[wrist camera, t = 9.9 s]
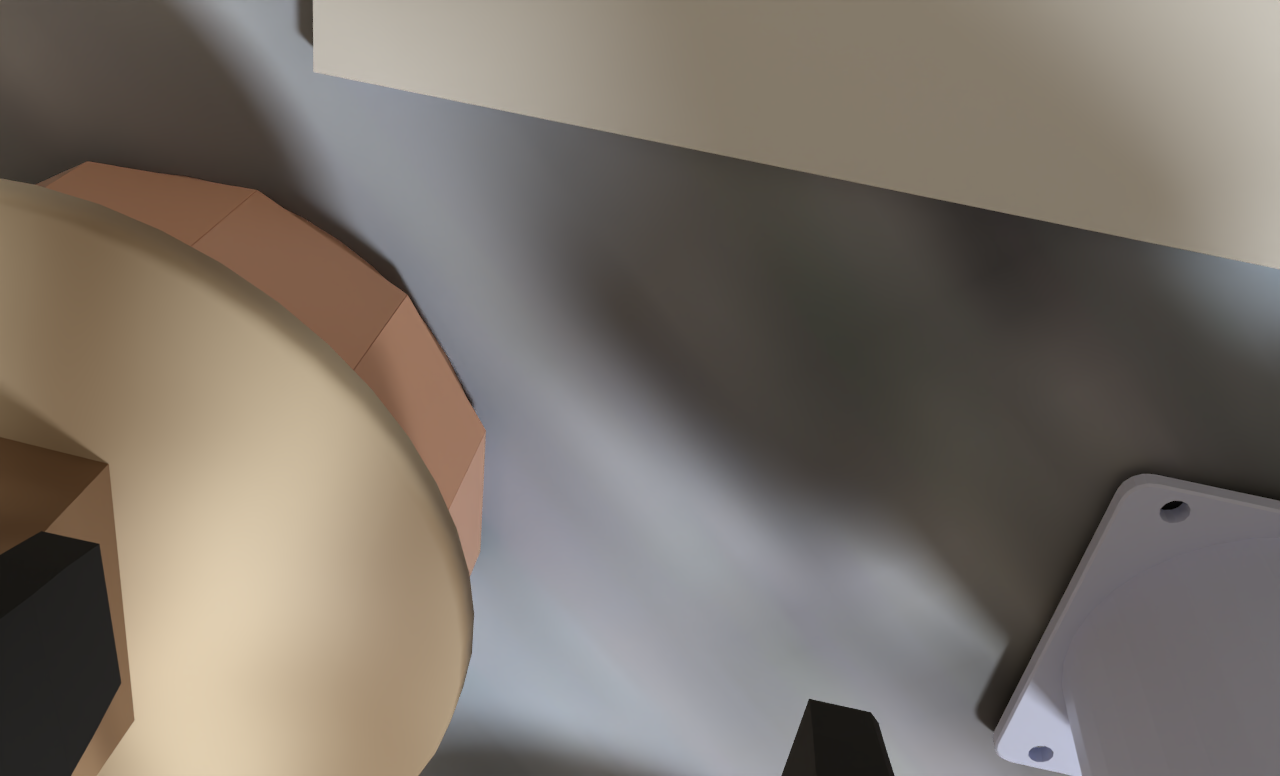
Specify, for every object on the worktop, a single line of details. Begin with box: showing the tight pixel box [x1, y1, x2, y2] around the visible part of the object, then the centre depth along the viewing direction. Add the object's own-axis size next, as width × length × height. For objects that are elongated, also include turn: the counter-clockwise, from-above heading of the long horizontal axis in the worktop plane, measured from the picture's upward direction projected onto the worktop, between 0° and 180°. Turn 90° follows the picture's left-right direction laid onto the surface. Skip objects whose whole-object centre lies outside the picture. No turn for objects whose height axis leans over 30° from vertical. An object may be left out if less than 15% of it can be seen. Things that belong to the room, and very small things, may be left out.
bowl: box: [35, 161, 486, 576], centre depth 21 cm, size 12×12×5 cm
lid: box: [0, 178, 474, 776], centre depth 17 cm, size 14×14×4 cm
